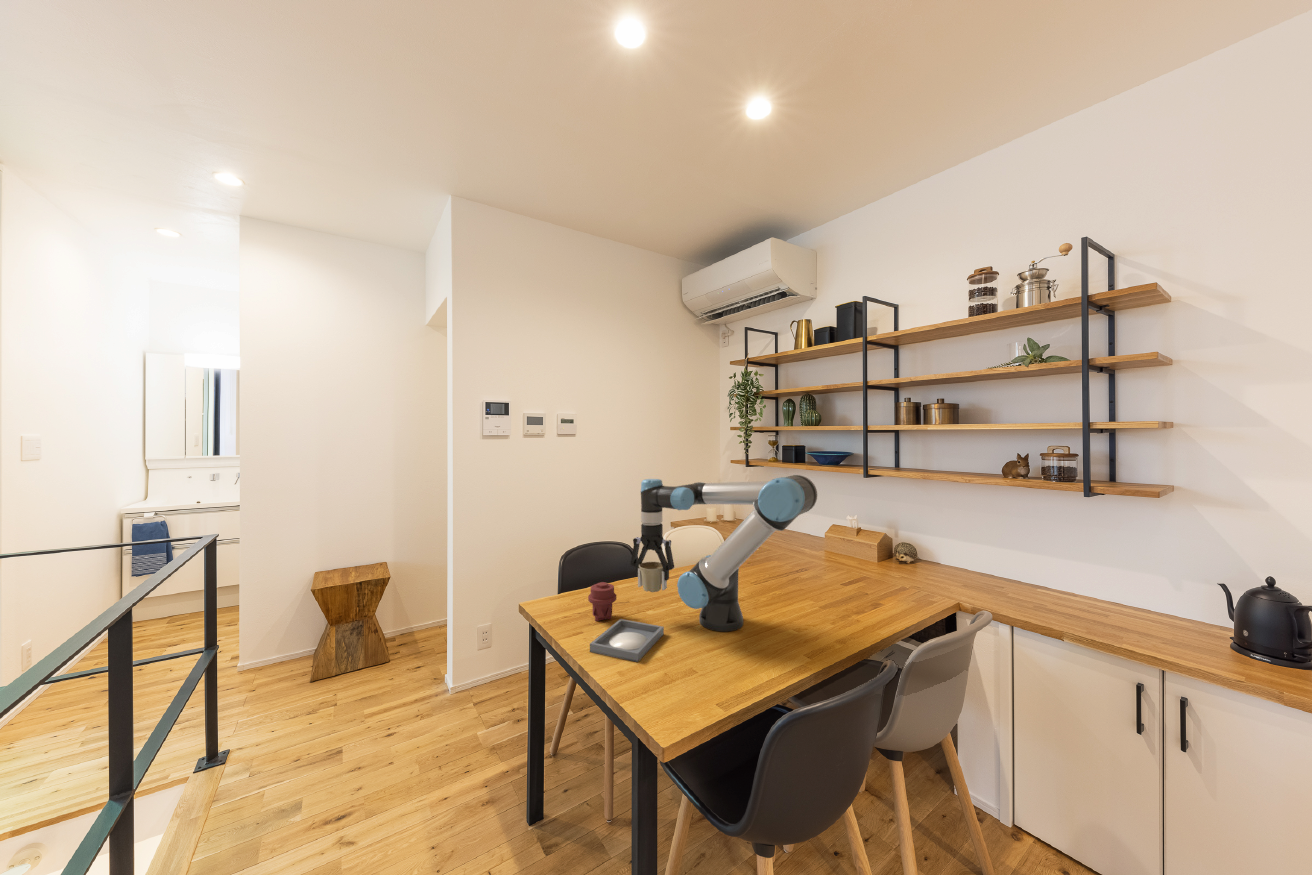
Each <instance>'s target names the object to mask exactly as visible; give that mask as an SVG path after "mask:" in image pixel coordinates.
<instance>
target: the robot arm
mask: <svg viewBox="0 0 1312 875" xmlns="http://www.w3.org/2000/svg"><path fill="white" fill-rule="evenodd" d="M640 485H641V486H640V504H641V505H640V508H641V509H640V510H641V512H640V522H641V524H640V532H641V533H640V534H641V536H640V537H639V536H638V537H637V536H636V537H635V538H633V539H632V541H633V548H632V553H631V559H630V565H631V566H633V567H635V577H637V587H638V588H641V587H643V582H642V575H641V571H640V567H639V565H640V564H641V563H644V560H645V557H646V555H647V553H648V551H650V550H651V551H655V553H656V555H657V557H658V559H659V562H661V564H662V567H663V569H664V570H663V571H662V585H661V591H665V590H666V589H667V588H668V584H667V583H668V580H669V579H670V571H672V570H673V569H674V568H675V562H674V558H673V557H674V556H673V552H672V547H671V546H672V540H671V539H668V540H667V539H664V537H663V534H664V533H663V530H664V529H663V508H664V509H670V510H671V509H672V510H677V511H687V510H690V509H691V508H692V507H693V506H695V505H747V506H748V505H749V506H750V505H751V506H753V510H752V511H751V512H750V513H749V514H747V517H745V518H744V519H743V521H742V522H741V523H740V524H739V525H738V526H737V527H736V528H735V529H734V530H733V531H732V532H731V533H730V534H729V536H728V537H727V538H726V539H725V540H724V541H723V542H722V543H721V544H720V545H719V546H718V547H717V549H716V550H714V552H713V553H712V554H709V555H706V556H704V557H702V558H701V559H699V560H698V561H697V562H696V563H695V565H694V566H693V567H692V568H691V569H690V570H689V571H685V572H684V573H682V574H681V575H680V576H679V578H678V581H677V586H676V587H677V593H678V596H679V597H680V599H681V601H682V602H683V603H684V604H685V605H686V606H687V607H689V608H692V609H693V610H694V609H695V610H699V609H700V612H699V619H698V620H699V624H700V625H701V626H702V627H703V628H705V629H708V630H711V631H715V632H733V631H736V630H737V631H738V630H739V629H741V628H742V627H743V626H744V616H743V612H742V610H741V606H740V603H739V570H740V569H739V568H740V567H741V566H742V565H743V564H744V563H745V562H746V561H748V559H749V558H750V557H751V556H753V554H754V553H755V552H756V551H757V550H758V549H759V548H760V547H761V546H762V545H763V544H764V543H765V542H766V541H767V540H768V539H769V538H770V537H771V535H773V534H774V533H775V532H776V531H778V532H779V531H780V532H782V531H785V530H786V528H787V527H789V526H790V525H791V524H792V523H793V522H794V521H795V520H796V518H798V517H799V516H800V515H803V514H805V513H807V512H809V511H810V510H812V509H813V507H814V506H815V505H816V502H817V500H818V490H817V487H816V485H815V483H814V482H813V481H812V480H811V479H809V477H806V476H804V475H801V474H793V475H789V476H785V477H783V476H781V477H775V478H773V479H771V480H769V481H767V480H766V481H764V480H763V481H732V482H731V481H729V482H728V481H727V482H702V481H701V482H699V481H698V482H694V483H689V484H682V485H676V486H668V485H664V484H663V480H662V479H659V478H646V479H643V480H642V481H641V483H640ZM640 544H642V548H641V552H640V554H639V551H640ZM662 545H663V546H664V551H663V547H662ZM664 552H665V554H664ZM638 555H639V556H638Z"/></svg>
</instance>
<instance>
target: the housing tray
mask: <svg viewBox="0 0 1312 875" xmlns="http://www.w3.org/2000/svg"><path fill="white" fill-rule="evenodd" d="M664 629H665V627H664V626H661V625H657V624H649V623H645V622H639V621H635V620H634V621H633V620H628V619H623V618H619V620H617V621H616V622H615V623H614V624H612V625H611V626H610V627H609V628H607V629H606V630H605V631H604V632H602V633H601V634H600V635H598V636H597V637H596V638H595V639H594V640H593V641H591V642H590V643H589V653H593V654H598V655H603V656H607V657H612V658H617V659H621V660H625V661H630V662H635V663H638V662H640V660H641V659H643V657H644V656H645V655H646V654H647V653H648V652H649V651H650V649H652V648H653V646H654V645H656V643H657V642H658V641H659V640H660V639H661V638H662V637H663V636H664V634H665V633H664Z"/></svg>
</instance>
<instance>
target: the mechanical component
mask: <svg viewBox="0 0 1312 875" xmlns="http://www.w3.org/2000/svg"><path fill="white" fill-rule="evenodd" d="M616 601H617V594H616V593H615V586H614V585H613V584H611V583H609V582H604V581H601V582H597V583H595V584H593V585H591V586H590V594H589V595H588V602H589V603H590V604H592V616H593V617H594V621H595V622H599V621H603V620H604V621H605V620H611V619H612V617H613V616H612V614H613V603H614V602H616Z"/></svg>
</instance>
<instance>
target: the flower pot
mask: <svg viewBox="0 0 1312 875" xmlns="http://www.w3.org/2000/svg"><path fill="white" fill-rule="evenodd" d="M639 567H640V571H641V575H642V582H643V585H642V588H643V591H644V592H650V593H657V592H659V591H662V571H663V570H664V569H663V567H662V564H661V562H660V561H645V562H644V561H643V562H642V563H641V564H640V565H639Z"/></svg>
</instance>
